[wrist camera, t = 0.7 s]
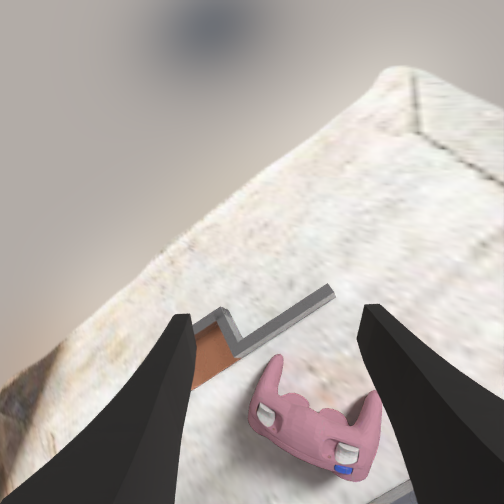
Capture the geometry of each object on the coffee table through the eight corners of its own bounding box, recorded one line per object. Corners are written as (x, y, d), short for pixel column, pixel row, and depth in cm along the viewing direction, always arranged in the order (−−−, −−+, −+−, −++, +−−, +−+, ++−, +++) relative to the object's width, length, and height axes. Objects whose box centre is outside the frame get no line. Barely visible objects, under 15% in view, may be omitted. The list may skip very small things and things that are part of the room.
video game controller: (267, 390, 28) (231, 438, 22) (274, 347, 27) (239, 385, 21) (374, 437, 24) (368, 514, 18) (387, 389, 23) (385, 451, 17)
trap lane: (513, 539, 19) (539, 567, 16) (167, 725, 21) (139, 777, 18) (306, 257, 30) (301, 246, 27) (96, 397, 32) (73, 400, 29)
